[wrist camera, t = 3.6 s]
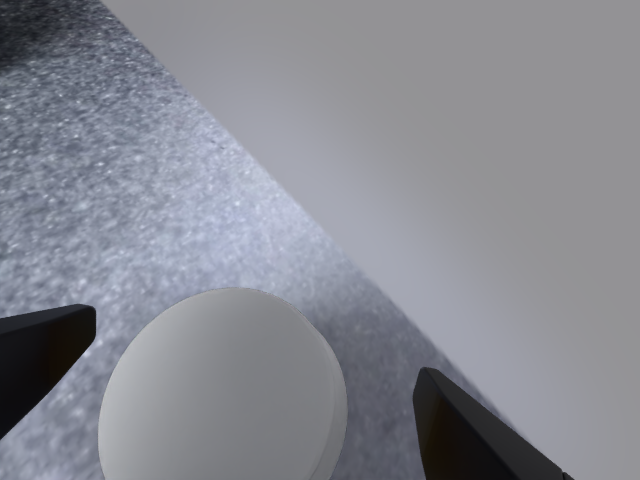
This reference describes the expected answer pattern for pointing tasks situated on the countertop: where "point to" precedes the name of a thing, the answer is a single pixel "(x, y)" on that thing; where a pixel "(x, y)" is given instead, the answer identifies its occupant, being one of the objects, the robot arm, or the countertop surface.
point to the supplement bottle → (225, 395)
